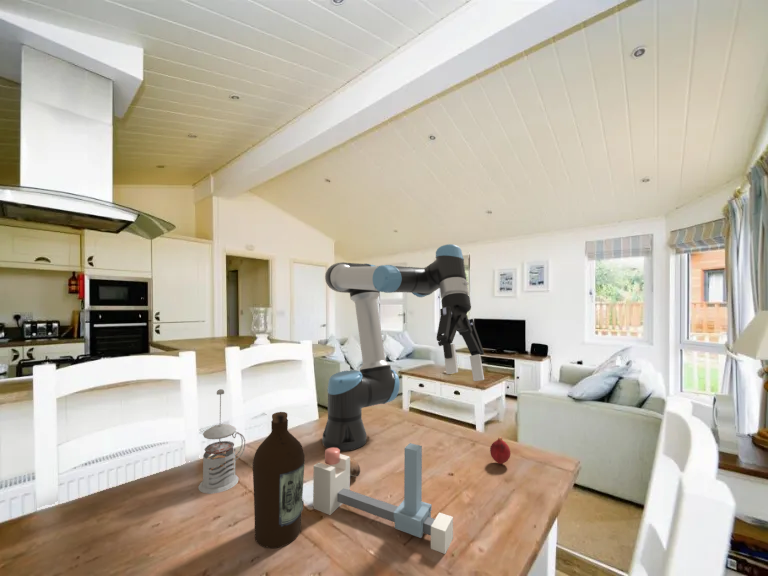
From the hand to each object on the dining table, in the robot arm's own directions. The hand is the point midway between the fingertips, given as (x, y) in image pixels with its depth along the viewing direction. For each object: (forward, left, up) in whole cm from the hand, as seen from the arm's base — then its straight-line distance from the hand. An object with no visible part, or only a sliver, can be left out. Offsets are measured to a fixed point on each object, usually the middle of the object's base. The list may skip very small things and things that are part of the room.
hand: (466, 377), depth 83 cm
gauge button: (-29, -15, -21) cm, 39 cm away
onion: (+4, +25, -31) cm, 40 cm away
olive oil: (-32, -29, -31) cm, 53 cm away
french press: (-60, -22, -31) cm, 71 cm away
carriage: (-7, -15, -29) cm, 34 cm away
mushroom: (-32, -4, -31) cm, 45 cm away
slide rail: (-14, -15, -31) cm, 37 cm away
